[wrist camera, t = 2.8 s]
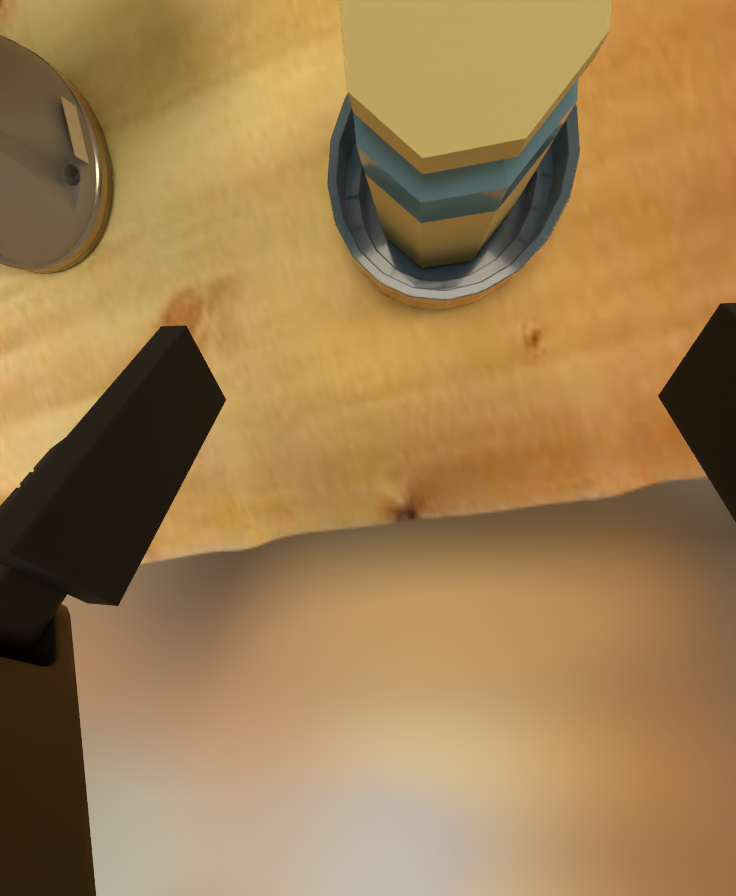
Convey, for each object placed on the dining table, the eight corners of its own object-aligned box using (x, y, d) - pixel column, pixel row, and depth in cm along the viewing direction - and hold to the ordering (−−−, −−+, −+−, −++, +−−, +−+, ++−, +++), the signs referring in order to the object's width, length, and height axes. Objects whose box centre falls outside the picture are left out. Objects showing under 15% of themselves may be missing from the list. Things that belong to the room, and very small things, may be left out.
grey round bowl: (310, 170, 26) (285, 129, 22) (492, 29, 23) (511, -58, 18) (402, 344, 28) (397, 342, 24) (582, 239, 25) (620, 210, 20)
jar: (532, 144, 24) (701, -184, 9) (481, 288, 26) (552, 202, 12) (401, 109, 24) (369, -250, 10) (363, 253, 27) (294, 131, 12)
